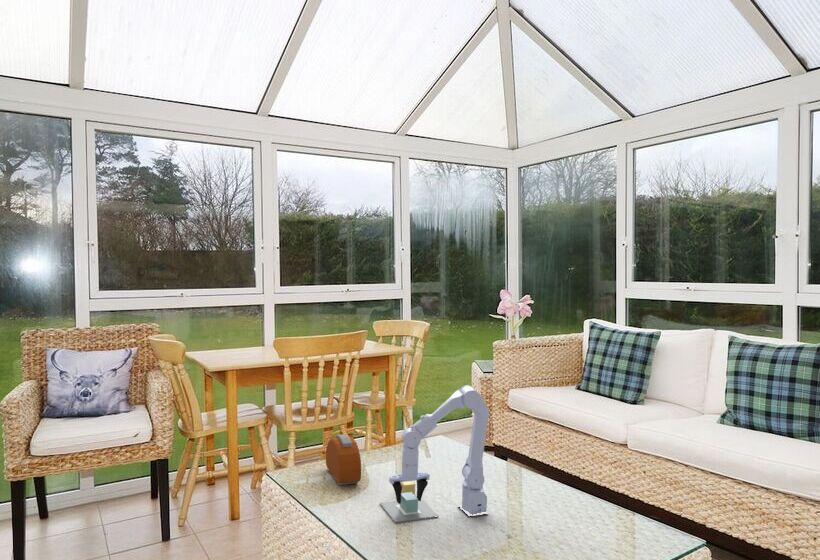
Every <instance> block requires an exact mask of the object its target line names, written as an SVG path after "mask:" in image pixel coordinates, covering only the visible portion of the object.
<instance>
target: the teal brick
mask: <svg viewBox="0 0 820 560" xmlns="http://www.w3.org/2000/svg"><path fill="white" fill-rule="evenodd" d="M400 507H401V508H402V509H403V510H404V511H405V513H412V512H418V498H417V495H416V494H415V495H414V494H413V493H412V492H407V493H401V503H400Z"/></svg>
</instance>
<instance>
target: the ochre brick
mask: <svg viewBox="0 0 820 560" xmlns="http://www.w3.org/2000/svg"><path fill="white" fill-rule="evenodd" d="M400 483H401V486H402V491H401V493H407V492H412V493H413V494H414V495H415V496H416V483H415V482H414V481H406V482H400Z"/></svg>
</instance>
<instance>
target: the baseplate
mask: <svg viewBox="0 0 820 560" xmlns="http://www.w3.org/2000/svg"><path fill="white" fill-rule="evenodd" d="M379 505H380V506H381V508H382V509H383V510H384V512H385V513H386V515H388V517H389V518H390V519H391V520H392V522H393V523H394V524H401V523H408V522H414V521H415V522H416V521H421V519H423V520H426V519H425V518H430V517H435V516H438V517H439V515H438V514H437V513H436V511H435V510H434V509H432V507H431V506H430V505H429V504H428V503H427V502H426V501H425V500H424V499H423V498H421V501H418V512H412V513H405V511H404V510H403V509H402V508H401V507H400V504H399V503H398V502H397V500H391V501H390V500H389V501H383V502H379Z"/></svg>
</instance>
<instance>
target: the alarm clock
mask: <svg viewBox="0 0 820 560" xmlns="http://www.w3.org/2000/svg"><path fill="white" fill-rule="evenodd" d="M325 466H326V467H327V469H328V470H329V471H328V472H330V474H331V475H332V476H333V478H334V479H335V481H336V482H337V485H338V486H342V484H343V485H352V484H358V482H360V481H361V479H362V459H361V454H360V450H359V446H358V443H357V442H356V440H355V438H353V437H352V436H348V434H336V435H335V437H332V438H330V439H329V440H328V442H327V445H326V450H325Z"/></svg>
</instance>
